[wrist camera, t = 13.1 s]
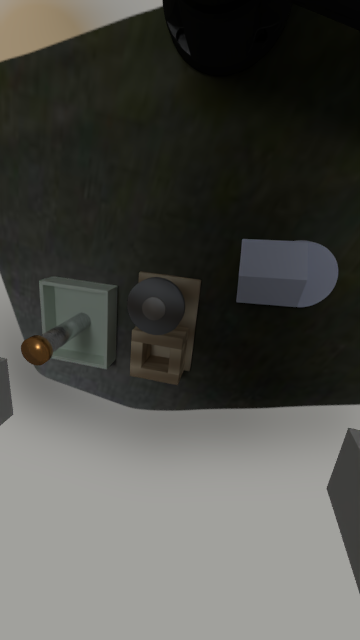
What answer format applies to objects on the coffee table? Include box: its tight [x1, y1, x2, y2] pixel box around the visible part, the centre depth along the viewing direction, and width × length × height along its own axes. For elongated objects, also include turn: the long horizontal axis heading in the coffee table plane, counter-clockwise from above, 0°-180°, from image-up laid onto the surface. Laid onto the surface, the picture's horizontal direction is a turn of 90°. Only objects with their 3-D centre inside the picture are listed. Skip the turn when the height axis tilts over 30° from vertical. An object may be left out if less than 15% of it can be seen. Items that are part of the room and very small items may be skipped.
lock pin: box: [21, 313, 91, 365], centre depth 46 cm, size 4×4×13 cm
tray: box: [39, 276, 118, 369], centre depth 51 cm, size 14×12×4 cm
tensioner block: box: [127, 271, 201, 385], centre depth 45 cm, size 17×10×9 cm, turn 174°
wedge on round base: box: [236, 239, 338, 307], centre depth 40 cm, size 9×7×13 cm
